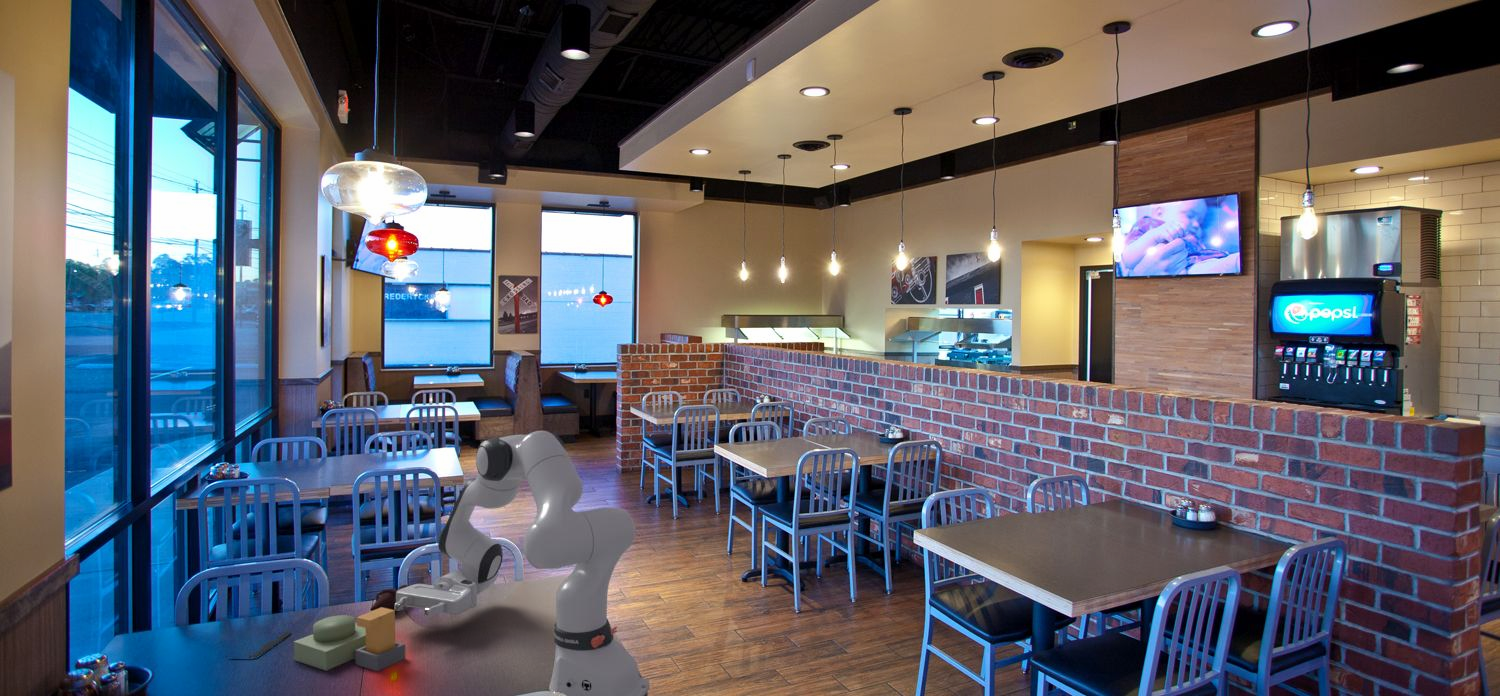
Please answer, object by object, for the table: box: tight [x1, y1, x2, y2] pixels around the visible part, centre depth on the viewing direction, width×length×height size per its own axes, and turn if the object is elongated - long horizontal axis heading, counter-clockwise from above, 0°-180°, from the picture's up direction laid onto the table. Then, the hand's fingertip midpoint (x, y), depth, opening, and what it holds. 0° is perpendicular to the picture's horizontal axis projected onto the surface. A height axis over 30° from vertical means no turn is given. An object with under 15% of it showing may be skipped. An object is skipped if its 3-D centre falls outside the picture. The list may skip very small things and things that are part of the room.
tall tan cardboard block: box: [356, 607, 396, 655], centre depth 181 cm, size 4×7×12 cm, turn 155°
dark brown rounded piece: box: [370, 584, 408, 612], centre depth 211 cm, size 7×7×15 cm
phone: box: [227, 631, 292, 658], centre depth 190 cm, size 7×1×15 cm
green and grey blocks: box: [293, 614, 406, 672], centre depth 183 cm, size 23×14×8 cm, turn 63°
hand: (411, 610), depth 191 cm, fingers open, 8 cm apart
